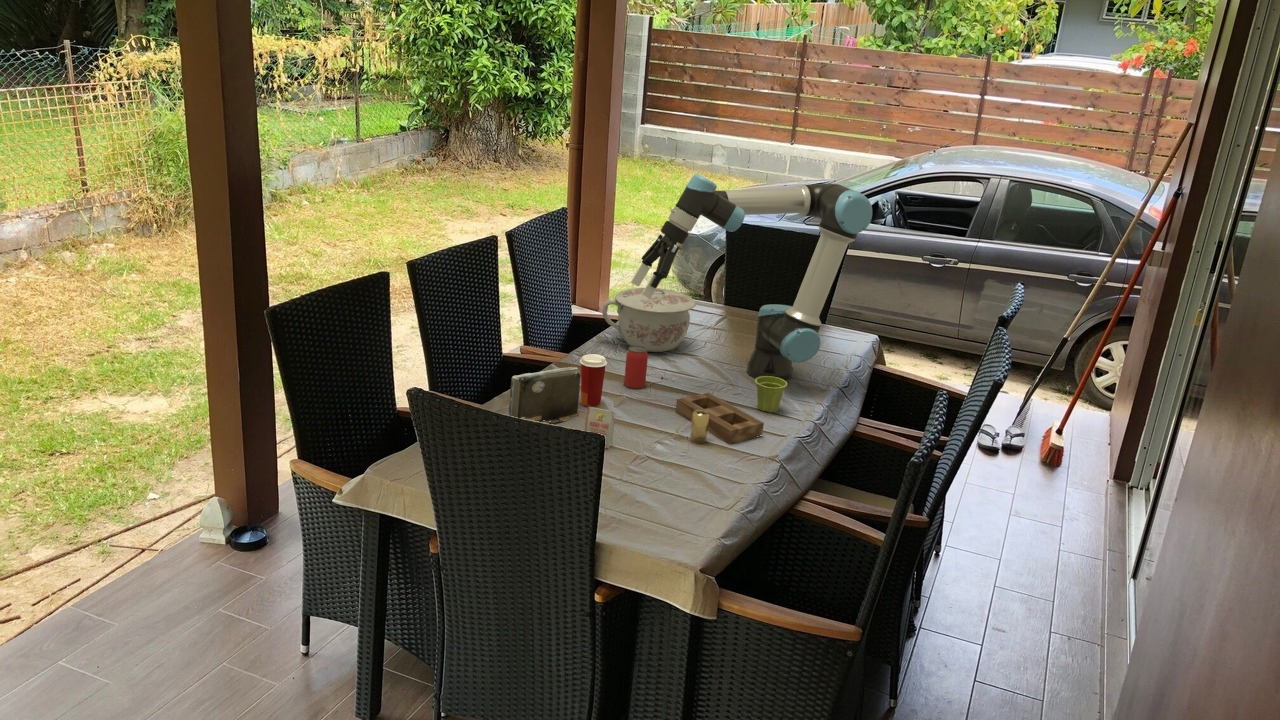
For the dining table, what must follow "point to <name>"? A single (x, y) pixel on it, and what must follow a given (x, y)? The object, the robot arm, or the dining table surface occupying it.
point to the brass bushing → (699, 426)
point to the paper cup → (592, 379)
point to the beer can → (636, 367)
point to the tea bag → (600, 423)
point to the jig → (721, 417)
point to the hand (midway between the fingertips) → (640, 290)
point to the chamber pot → (651, 318)
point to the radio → (545, 395)
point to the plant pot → (769, 392)
